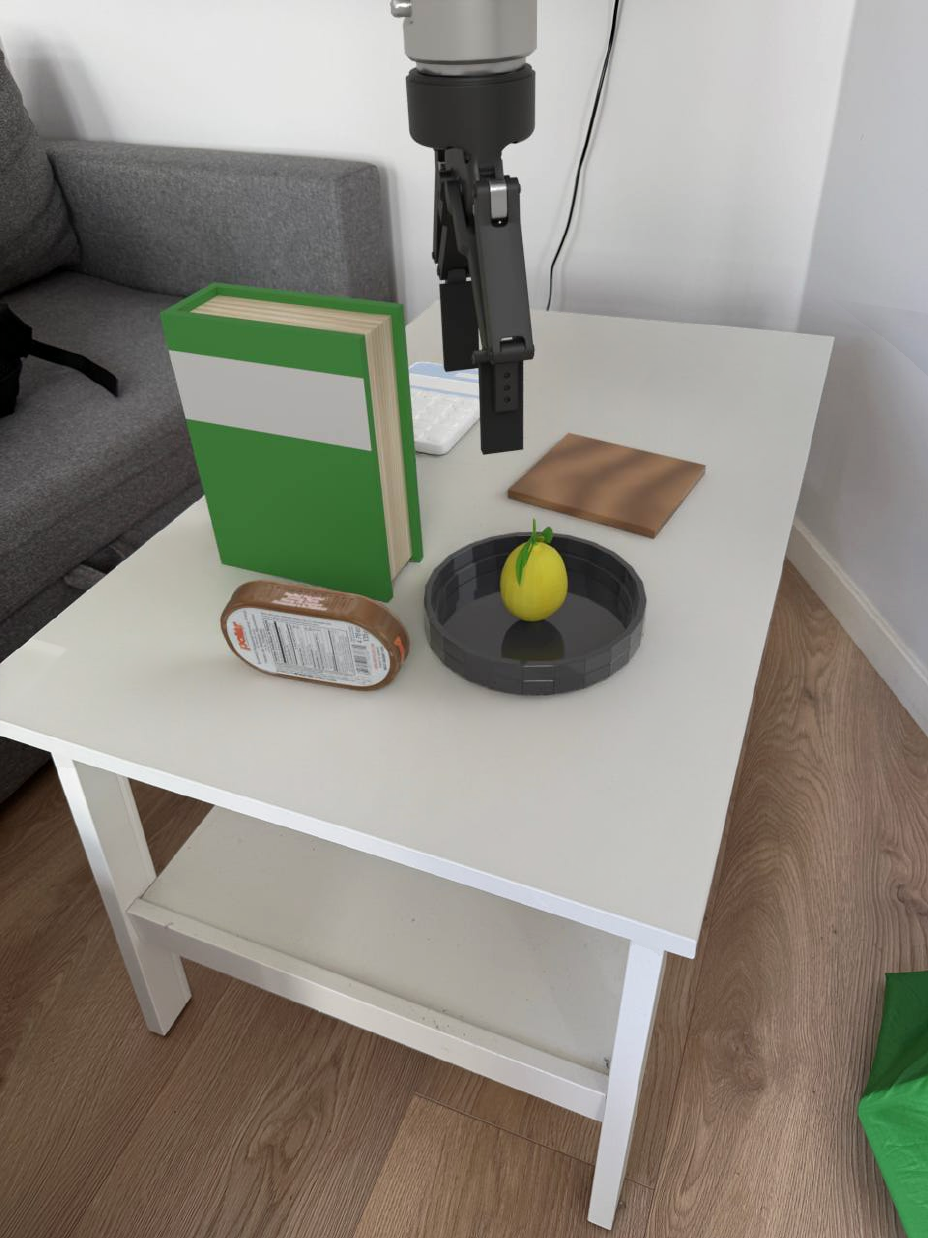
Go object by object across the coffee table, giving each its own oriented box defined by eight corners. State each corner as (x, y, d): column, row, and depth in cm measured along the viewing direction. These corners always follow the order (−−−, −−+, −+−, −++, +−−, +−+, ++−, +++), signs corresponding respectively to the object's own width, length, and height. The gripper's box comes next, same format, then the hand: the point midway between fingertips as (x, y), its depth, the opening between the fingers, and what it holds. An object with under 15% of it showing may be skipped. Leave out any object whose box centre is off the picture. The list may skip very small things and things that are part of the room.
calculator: (339, 439, 105) (337, 424, 104) (416, 370, 119) (415, 357, 118) (444, 458, 101) (443, 443, 100) (511, 385, 115) (511, 371, 114)
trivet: (705, 473, 96) (706, 465, 96) (654, 539, 87) (655, 530, 86) (568, 440, 103) (568, 432, 102) (507, 497, 94) (507, 489, 93)
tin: (414, 678, 73) (406, 594, 68) (402, 705, 71) (393, 620, 65) (244, 650, 76) (223, 568, 71) (226, 675, 74) (204, 592, 69)
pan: (674, 599, 80) (679, 566, 78) (584, 730, 68) (587, 696, 66) (493, 543, 87) (493, 512, 85) (384, 652, 76) (380, 619, 73)
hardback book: (423, 557, 86) (403, 303, 71) (388, 602, 81) (358, 339, 66) (263, 523, 92) (214, 282, 77) (221, 563, 87) (159, 312, 72)
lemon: (519, 653, 74) (520, 552, 68) (481, 616, 78) (478, 516, 72) (586, 625, 77) (592, 524, 70) (546, 589, 81) (548, 491, 74)
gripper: (377, 40, 61) (403, 346, 75) (445, 105, 42) (463, 500, 56) (486, 33, 62) (492, 335, 76) (600, 93, 43) (582, 484, 57)
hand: (480, 406), depth 66 cm, fingers open, 13 cm apart
